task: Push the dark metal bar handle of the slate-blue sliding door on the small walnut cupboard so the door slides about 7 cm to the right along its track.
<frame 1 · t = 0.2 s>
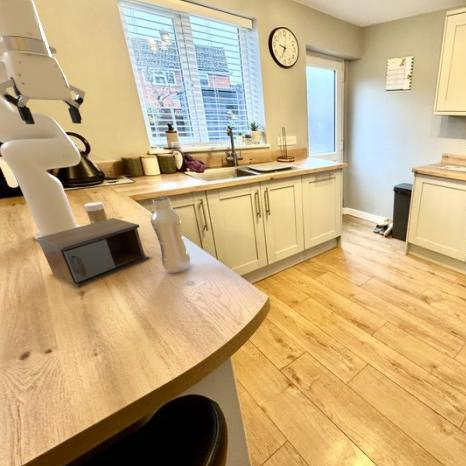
hand: (55, 123, 77), 37 cm above the counter, tool pointing down, fingers open, 9 cm apart
sliding door: (94, 261, 72), point 5 cm above the counter, slide at 0.0 cm
cupboard: (102, 265, 80), on the counter
sprinkles bottle: (106, 243, 94), on the counter
plastic bottle: (178, 270, 79), on the counter
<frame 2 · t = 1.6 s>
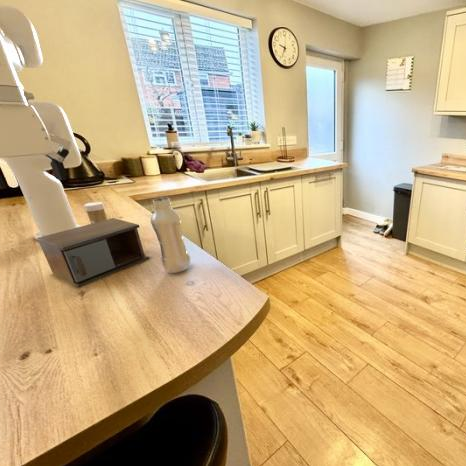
hand: (33, 183, 63), 25 cm above the counter, tool pointing down, fingers open, 9 cm apart
nothing on the counter moved.
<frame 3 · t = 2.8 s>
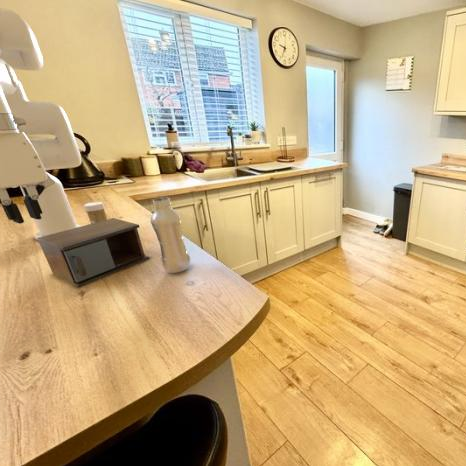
hand: (27, 219, 59), 19 cm above the counter, tool pointing down, fingers closed
nothing on the counter moved.
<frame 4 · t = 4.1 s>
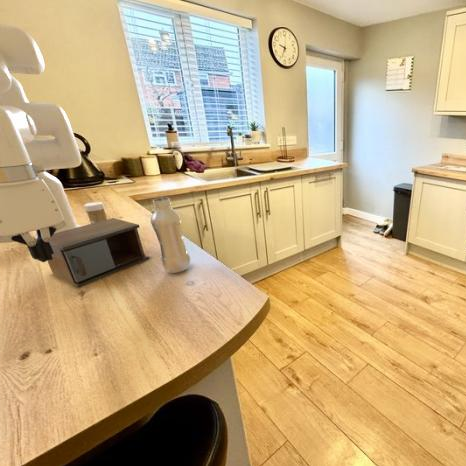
hand: (45, 259, 62), 10 cm above the counter, tool pointing down, fingers closed
nothing on the counter moved.
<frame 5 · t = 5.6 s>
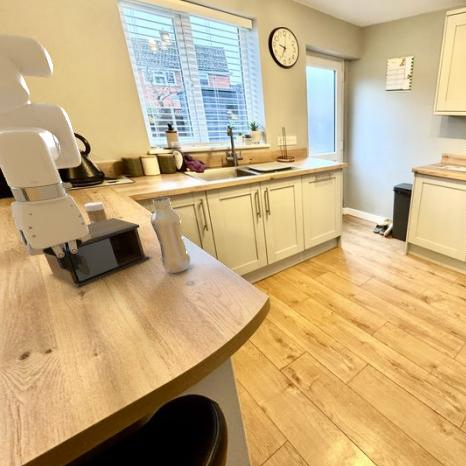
hand: (71, 269, 67), 6 cm above the counter, tool pointing down, fingers closed
sliding door: (97, 259, 72), point 5 cm above the counter, slide at 0.7 cm, touching gripper
everything else where it was.
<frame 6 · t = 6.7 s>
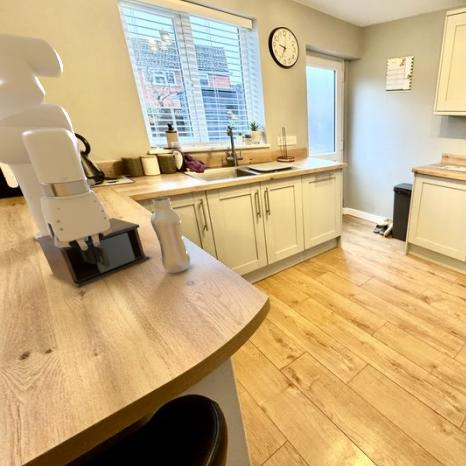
hand: (94, 261, 71), 6 cm above the counter, tool pointing down, fingers closed
sliding door: (116, 253, 76), point 5 cm above the counter, slide at 5.1 cm, touching gripper
everything else where it was.
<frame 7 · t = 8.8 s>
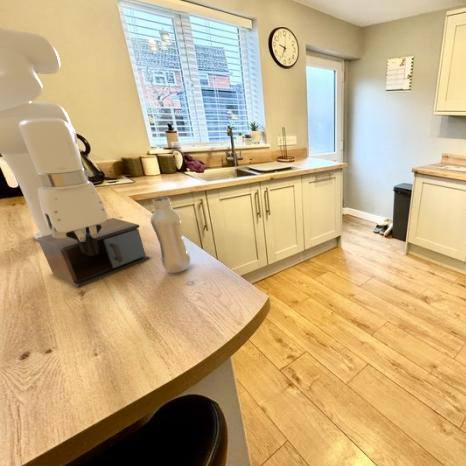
hand: (91, 253, 70), 8 cm above the counter, tool pointing down, fingers closed
sliding door: (128, 248, 79), point 5 cm above the counter, slide at 8.0 cm
everything else where it was.
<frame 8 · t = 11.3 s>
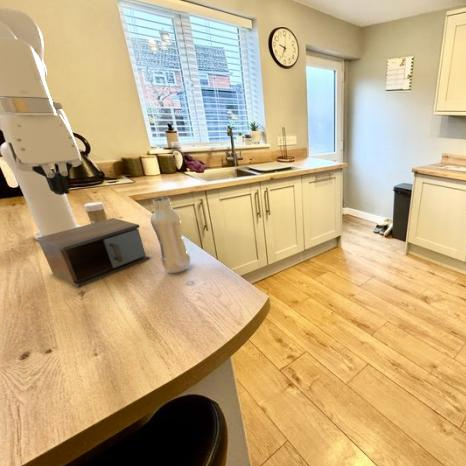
hand: (62, 193, 67), 22 cm above the counter, tool pointing down, fingers closed
nothing on the counter moved.
at the end: sliding door slide at 8.0 cm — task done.
